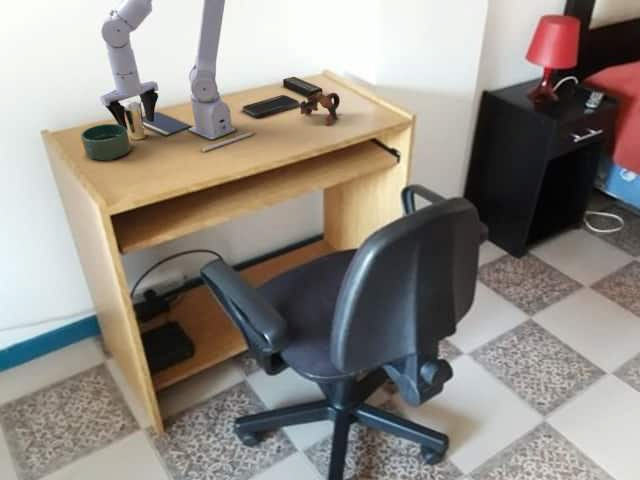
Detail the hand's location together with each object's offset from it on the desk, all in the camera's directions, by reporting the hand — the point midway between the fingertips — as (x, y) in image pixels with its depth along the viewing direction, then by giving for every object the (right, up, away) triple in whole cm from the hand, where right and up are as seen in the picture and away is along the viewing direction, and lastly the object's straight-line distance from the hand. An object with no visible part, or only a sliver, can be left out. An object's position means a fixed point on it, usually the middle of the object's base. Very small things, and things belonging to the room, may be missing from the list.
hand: (137, 125), depth 146 cm
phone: (+31, +9, +19) cm, 37 cm away
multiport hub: (+39, +18, +30) cm, 52 cm away
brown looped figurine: (+46, +5, +13) cm, 48 cm away
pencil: (+23, -5, 0) cm, 24 cm away
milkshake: (0, -3, +2) cm, 3 cm away
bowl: (-5, -8, -5) cm, 11 cm away
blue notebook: (+3, +2, +9) cm, 10 cm away
